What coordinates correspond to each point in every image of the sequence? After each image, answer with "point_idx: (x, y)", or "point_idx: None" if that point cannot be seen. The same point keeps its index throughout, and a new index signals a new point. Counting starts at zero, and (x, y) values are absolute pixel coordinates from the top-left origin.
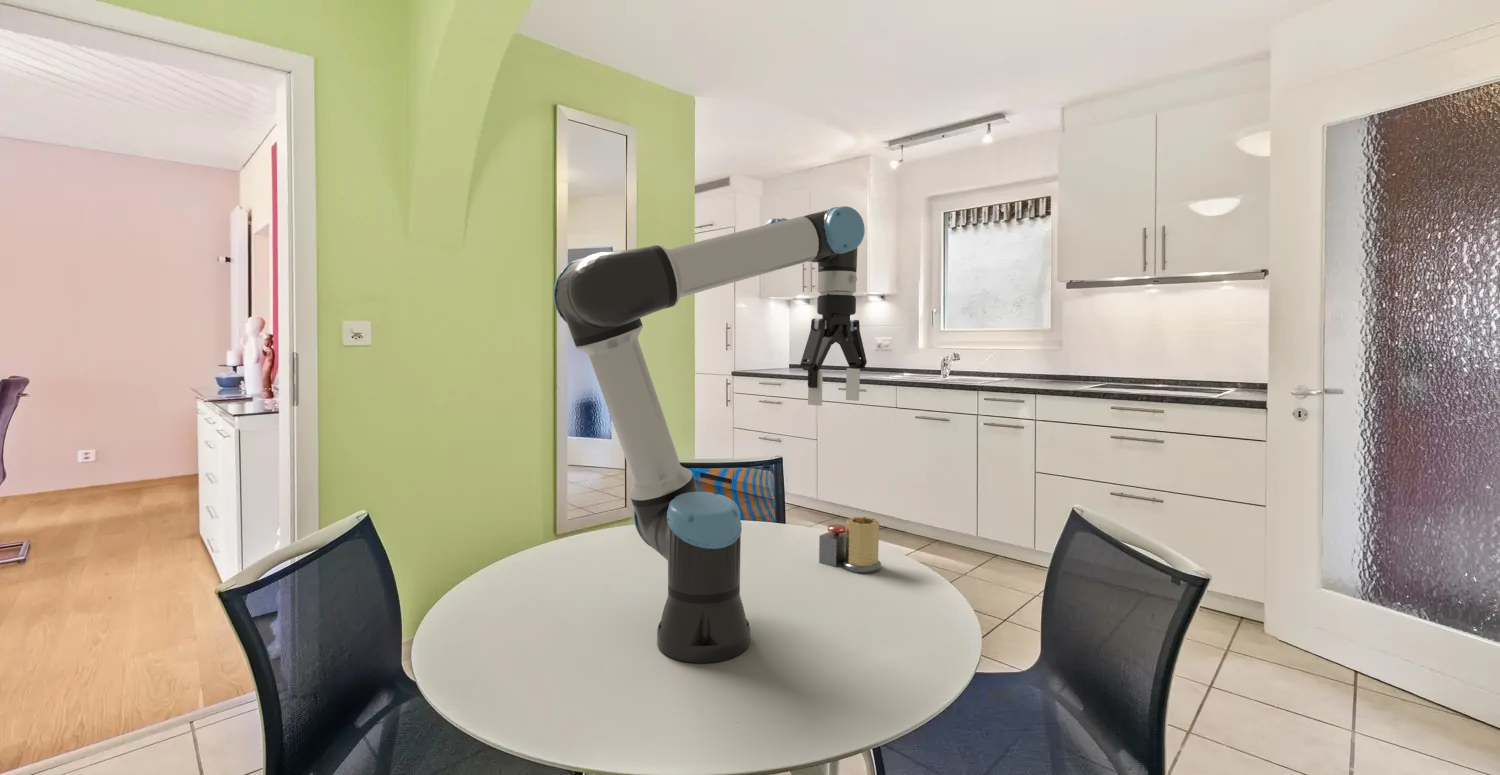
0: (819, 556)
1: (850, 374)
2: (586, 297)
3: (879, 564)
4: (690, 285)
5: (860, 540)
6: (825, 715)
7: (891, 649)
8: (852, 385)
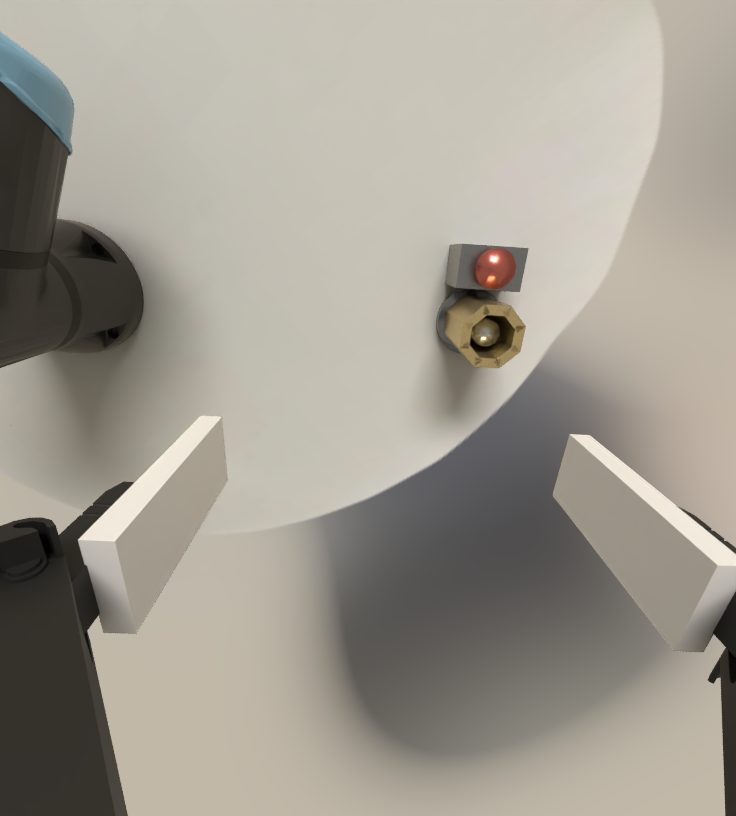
0: (452, 245)
1: (663, 558)
2: None
3: None
4: None
5: (453, 342)
6: (86, 475)
7: (239, 468)
8: (605, 520)
